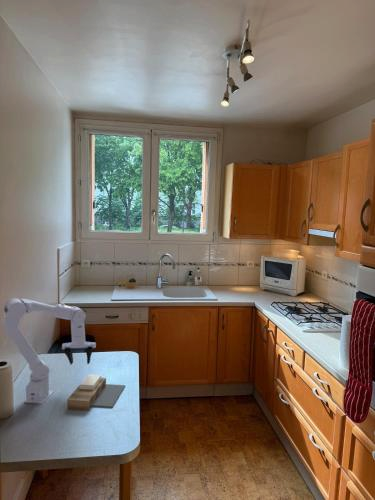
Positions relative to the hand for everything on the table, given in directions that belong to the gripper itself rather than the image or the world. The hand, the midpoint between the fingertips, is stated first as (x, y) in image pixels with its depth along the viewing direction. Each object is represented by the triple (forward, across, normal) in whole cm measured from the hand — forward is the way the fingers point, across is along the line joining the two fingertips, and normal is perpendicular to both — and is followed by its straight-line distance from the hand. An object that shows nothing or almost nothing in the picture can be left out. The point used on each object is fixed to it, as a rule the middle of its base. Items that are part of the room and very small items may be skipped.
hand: (80, 363), depth 154 cm
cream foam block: (+5, -6, +8) cm, 11 cm away
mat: (+10, -15, +10) cm, 21 cm away
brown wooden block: (+10, -6, +11) cm, 16 cm away
